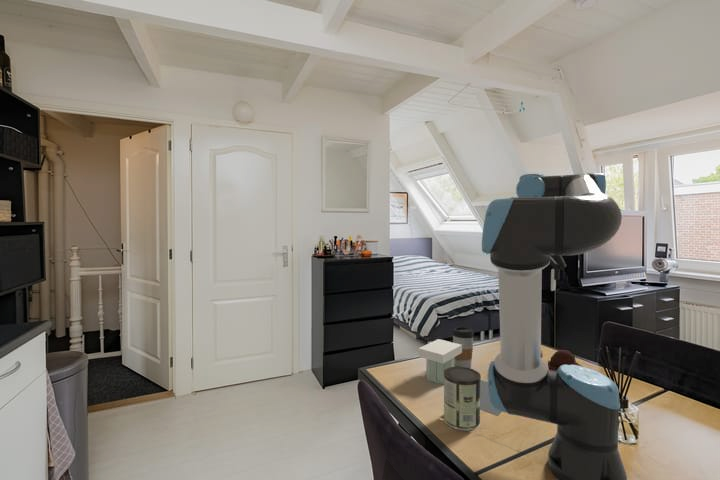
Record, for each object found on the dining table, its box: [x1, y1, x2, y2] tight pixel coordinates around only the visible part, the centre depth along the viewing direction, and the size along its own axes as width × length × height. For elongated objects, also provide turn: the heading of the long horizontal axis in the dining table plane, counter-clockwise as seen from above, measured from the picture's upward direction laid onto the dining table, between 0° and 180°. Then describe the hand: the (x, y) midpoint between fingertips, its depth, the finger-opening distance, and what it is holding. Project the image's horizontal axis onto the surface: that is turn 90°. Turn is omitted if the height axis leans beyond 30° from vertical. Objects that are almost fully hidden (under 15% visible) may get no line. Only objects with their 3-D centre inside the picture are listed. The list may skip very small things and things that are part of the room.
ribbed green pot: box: [425, 357, 455, 385], centre depth 131 cm, size 10×10×9 cm
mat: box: [480, 379, 502, 417], centre depth 117 cm, size 20×16×1 cm
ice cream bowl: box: [547, 349, 584, 371], centre depth 119 cm, size 11×11×15 cm
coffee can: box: [443, 366, 482, 432], centre depth 102 cm, size 10×10×14 cm
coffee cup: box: [452, 326, 475, 368], centre depth 141 cm, size 8×8×15 cm
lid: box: [418, 338, 462, 363], centre depth 130 cm, size 14×10×3 cm
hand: (530, 287), depth 115 cm, fingers open, 13 cm apart
